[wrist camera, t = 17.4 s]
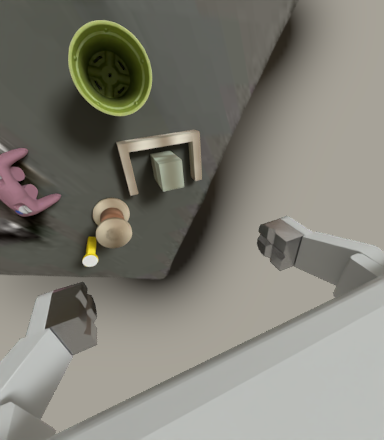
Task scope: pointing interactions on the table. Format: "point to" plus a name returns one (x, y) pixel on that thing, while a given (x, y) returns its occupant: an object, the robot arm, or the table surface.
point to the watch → (90, 253)
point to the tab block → (167, 170)
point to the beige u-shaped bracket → (160, 141)
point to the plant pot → (110, 68)
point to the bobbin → (112, 222)
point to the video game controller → (20, 187)
